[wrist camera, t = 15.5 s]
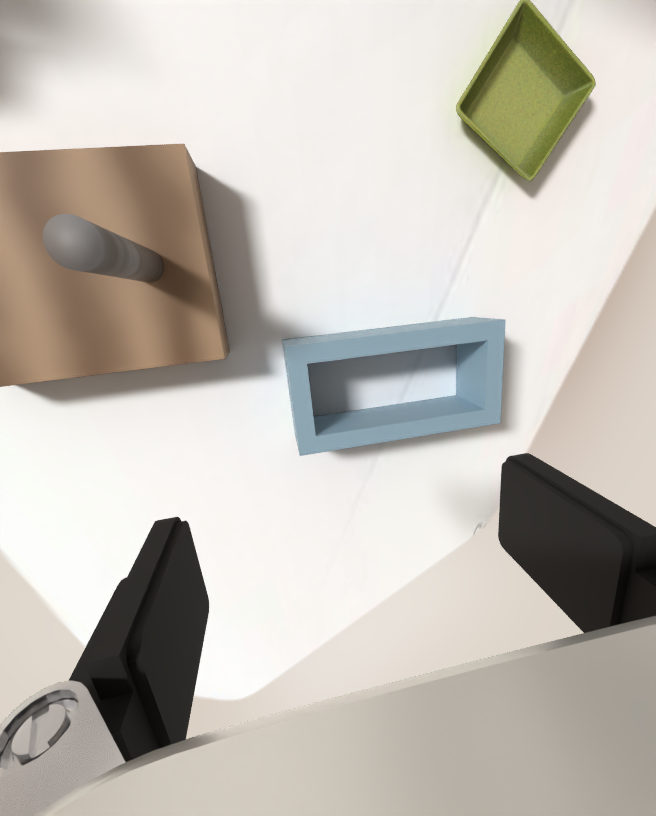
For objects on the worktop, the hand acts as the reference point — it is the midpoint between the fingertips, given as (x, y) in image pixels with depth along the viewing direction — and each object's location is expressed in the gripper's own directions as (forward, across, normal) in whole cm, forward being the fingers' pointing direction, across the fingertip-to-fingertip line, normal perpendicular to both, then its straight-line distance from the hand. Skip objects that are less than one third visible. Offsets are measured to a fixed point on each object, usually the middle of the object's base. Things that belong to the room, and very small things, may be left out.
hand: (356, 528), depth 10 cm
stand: (+23, +14, -10) cm, 29 cm away
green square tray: (+24, -21, -19) cm, 37 cm away
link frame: (+23, -8, +2) cm, 25 cm away
